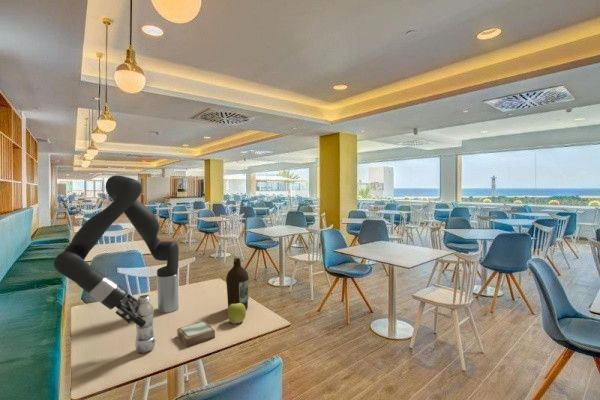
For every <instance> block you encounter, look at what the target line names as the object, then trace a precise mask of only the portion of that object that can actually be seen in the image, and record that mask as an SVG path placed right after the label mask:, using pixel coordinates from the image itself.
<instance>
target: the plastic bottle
mask: <svg viewBox="0 0 600 400" xmlns="http://www.w3.org/2000/svg"><path fill="white" fill-rule="evenodd" d="M137 300H138V303H139V304H138V306H137V307H136V309H135V313H136V314H137V315H138V316H139V317H141V318H142V319H143V320H145V321H146V323H145V325H144V326H143V327H140V326H138V325H137V324H136V323H135V326H136V337H135V338H136V339H135V344H134V346H135V350H136V351H137V353H140V354H143V353H148V352H150V351H151V350H153V349H154V348H155V345H156V336H155V335H154V313H155V312H154V311H155V308H154V306H153V305H152V304H151V303H150V301H151V299H150V295H149V294H143V295H139V296H138V298H137Z"/></svg>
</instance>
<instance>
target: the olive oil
mask: <svg viewBox="0 0 600 400" xmlns="http://www.w3.org/2000/svg"><path fill="white" fill-rule="evenodd" d="M241 264H242V261H241V257H239V256H238V257H234V258H233V266H232V267H231V269H229V271H228V272H227V274H226V278H225V280H226V283H225V285H226V296H227V308H228V307H229V306H230V305H231V304H235V303H236V304H237V303H242V304H243V305H244V306H245V308H246V311H247V310H248V309H249V303H248V302H249V279H250V278H249V274H248V271H247V270H246V269H245V268H244V267H243V266H242V265H241ZM234 301H235V302H234ZM247 308H248V309H247Z"/></svg>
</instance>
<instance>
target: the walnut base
mask: <svg viewBox="0 0 600 400" xmlns="http://www.w3.org/2000/svg"><path fill="white" fill-rule="evenodd" d="M176 331H177V334H176V335H177V337H178V338H179V340H180V341H181V342H182V343H183V344H184V345H185V347H186V348H188V347H191V346H194V345H197V344H200V343H204V342H206V341H209V340H212V339H214V338H216V329H214V328H213V327H212V326H211V325H210V324H208V323H207V322H206V321H205V320H202V321H199V322H196V323H192V324H189V325H186V326H182V327H179V328H177V329H176Z"/></svg>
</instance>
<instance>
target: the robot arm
mask: <svg viewBox="0 0 600 400" xmlns="http://www.w3.org/2000/svg"><path fill="white" fill-rule="evenodd" d="M142 186H143V185H142V183H141V182H140V181H139V180H138V179H135V178H132V177H129V176H124V175H112V176H110V177H108V179H107V180H106V182H105V191H106V193H107V195H108V196H109V197H110V199H111V200H113V201H112V202H111V203H110V204H109V205H108V206H107V207H106V208H104V209H103V210H101V211H99V212H98V213H96V214H94V215H93V216H91V217H90V218H89V219H87V220H86V221H85V222H84V223H83V224H82V226H80V228H79V230H78V231H77V232H76V233H75V234H74V236H73V237H72V239H71V240H70V244H69V245H68V246H67V247H66V248H65V249H64V251H63V252H61V253H59V254H58V255H57V256H55V258H54V259H53V267H54V270H56V271H57V272H58V273H60V274H61V275H63V276H65V277H66V278H67V279H69V280H71V281H72V282H74V283H75V284H76V285H77V286H79V288H81V289H82V290H83V291H85V292H86V293H88V294H89V295H90V296H91V297H92V298H93V299H95V300H96V301H97V302H99V303H101V304H102V305H103V306H105V307H106V308H107V309H109V310H113V309H114V308H116V309H117V310H116V311H115V314H116V315H117V316H119V317H120V318H121V319H122V320H124V321H126V322H127V323H128V324H130V323H132V322H133V323H134V324H135V325H136V324H137V325H138V326H140V327H143V326H144V325H145V323H146V321H145V320H143V319H142V318H141V317H139V316H138V315H137V314H136V313H135V309H136V307H137V306H138V304H139V303H138V298H135V297H134V296H133V295H131V294H130V293H128V291H127V289H125V288H123V287H122V286H121V285H120V284H118V283H117V282H115V281H114V280H113V279H112V278H109V277H107V276H106V274H104V273H102V272H100V271H99V270H98V269H96V268H94V267H92V266H91V265H90V263H88V262H87V261H85V259H86V258H87V257H88V254H89V253H90V251H92V249H93V248H94V247H95V246H96V245H97V243H98V242H99V240H101V238H102V237H103V235H104V234H105V233H106V232H107V231H108V229H109V228H110V226H112V224H114V222H116V220H118V219H119V218H120V217H121V216H122V215H123V214H125V216H126V218H127V219H128V221H130V223H131V224H132V226H133V227H134V229H135V231H137V233H138V235H139V236H140V237H141V238H142V239H143V241H144V243H145V244H146V247H148V250H149V252H150V254H151V256H152V257H153V259H154V260H156V261H160V262H161V261H163V262H165V261H166V265H164V266H162V267H160V268H158V269H157V270H156V280H157V281H156V282H157V283H156V284H157V285H156V286H157V312H159V313H163V314H166V313H167V314H168V313H172V312H175V311H177V310H178V309H180V308H179V277H178V275H179V274H178V271H179V253H180V252H179V245H178V243H177V242H176V241H174V240H173V241H172V240H171V241H168V240H167V241H166V240H165V241H162V240H160V238H158V234H159V231H160V221H158V219H157V216H156V215H155V214H154V212H153V211H152V210H150V209H149V208H148V207H147V206H146V205H145V204H143V203H142V202H141V201H139V197H140V196H141V194H142V189H143V187H142Z"/></svg>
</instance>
